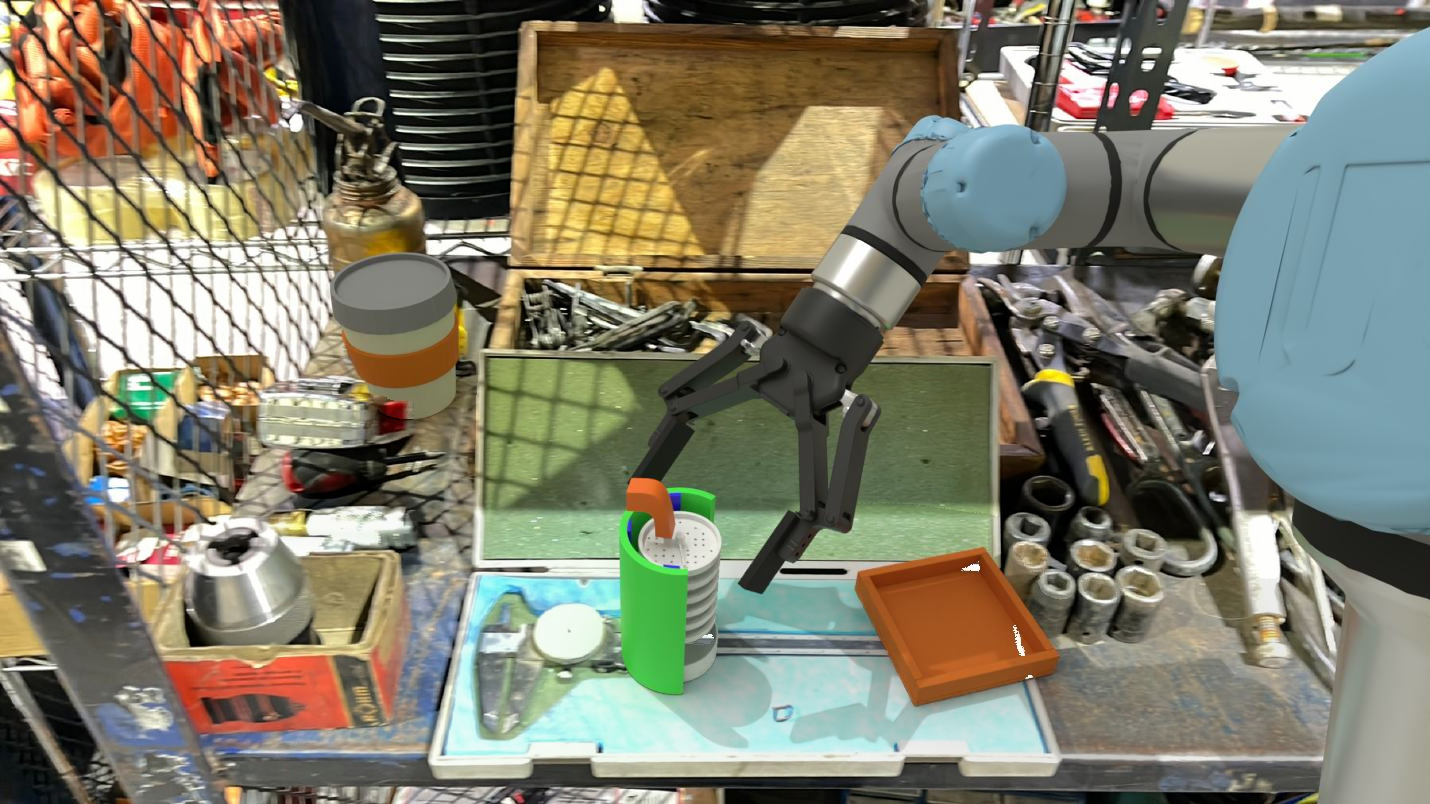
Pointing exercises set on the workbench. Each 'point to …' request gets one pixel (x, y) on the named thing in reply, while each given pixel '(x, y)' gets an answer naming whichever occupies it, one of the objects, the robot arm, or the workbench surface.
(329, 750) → the workbench surface
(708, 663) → the green-shelled ribbed roller
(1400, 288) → the robot arm
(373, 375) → the reusable coffee cup
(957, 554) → the shallow square tray
